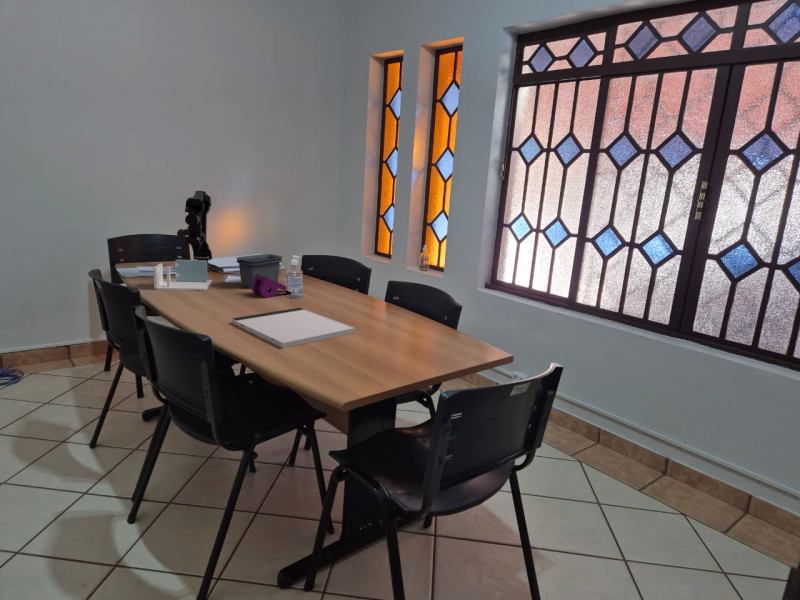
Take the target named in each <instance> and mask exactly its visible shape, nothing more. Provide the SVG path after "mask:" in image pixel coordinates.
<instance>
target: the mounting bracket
mask: <svg viewBox="0 0 800 600" xmlns="http://www.w3.org/2000/svg"><path fill="white" fill-rule="evenodd" d="M286 286H287V285H285V284H282V283H279V281H278V282H275V281H273V280H271V279H268V278H266V277H263V276H260V275H258V274H256V275H255V277H254V280H253V282H252V285H251V288H252V289H251V288H250V289H251V291H252V293H254V294H256V295H258V296H259V295H261V297H263V298H266V299H270V298H273V297H275V296H276V294H277V292H278V291H279V290H282V291H284V292H286Z"/></svg>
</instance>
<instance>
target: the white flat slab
mask: <svg viewBox="0 0 800 600" xmlns="http://www.w3.org/2000/svg"><path fill="white" fill-rule="evenodd" d="M230 323H231V324H232V323H233V324H232V325H234V324H235V326H236V325H237V327H238V326H239V328H240V327H241V329H242V328H243V329H242V330H244V331H247V332H249V333H251V334H253V335H255V336H257V337H259V338H260V339H263V340H265V341H266V342H267V341H268V342H269V343H271V344H273V345H275V346H277V347H279V348H281V349H286V348H291V347H296V346H301V345H303V344H304V345H305V344H309V343H314V342H318V341H323V340H328V339H333V338H337V337H341V336H342V337H343V336H345V335H350V334H355V333H356V332H355V327H354V326H350V325H347V324H345V323H342V322H339V321H337V320H334V319H331V318H328V317H325V316H323V315H320V314H318V313H315V312H312V311H309V310H307V309H304V308H302V307H296V308H289V309H282V310H277V311H271V312H270V311H269V312H265V313H263V312H262V313H258V314H251V315H244V316H238V317H233V318H231V322H230Z"/></svg>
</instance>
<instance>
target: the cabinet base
mask: <svg viewBox="0 0 800 600" xmlns="http://www.w3.org/2000/svg"><path fill="white" fill-rule="evenodd" d="M152 268H153V288H154V289H156V290H155V291H189V290H206V289H207V290H208V288H209V287H210V285H211V284H212V283H213V282H212V280H211V279H207V282H198V281H176V278H173V279H172V278H171V265H167V266H166V278H164V268H163V263H162V262H160V263H159V264H157V265H156V266H154V267H152ZM208 286H209V287H208ZM157 289H158V290H157ZM207 290H206V291H207Z"/></svg>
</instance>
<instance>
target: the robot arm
mask: <svg viewBox="0 0 800 600" xmlns="http://www.w3.org/2000/svg"><path fill="white" fill-rule="evenodd" d="M211 207H212V198H211V196H210V195H209V194H207V192H206V191H204V190H195V192H194V195H193V196H190V197H187V199H186V201H185V208H184V213H188V214H186V216H185V218H184V220H185V221H184V222H185V223H186V225H188V226H187V228H185V229H183V228H180V229H178V230H177V232H176V236H178V239H181V238H184V237H185V243H186V244H189V245H190V246H191V250H192V255H193V260H205V261H207V272H210V268H209V261H210V260H213V252H212V250H211V248H210V245H209V243H208V242H207V231H208V230H207V229H208V227H207V225H208V220H207V219H208V214H209V213H210V211H211ZM186 236H187V237H186Z"/></svg>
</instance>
